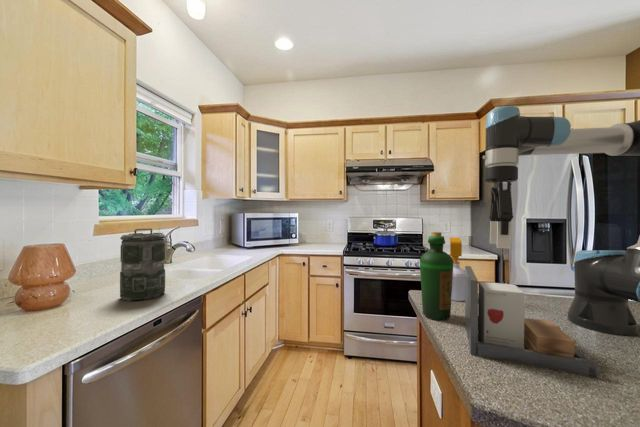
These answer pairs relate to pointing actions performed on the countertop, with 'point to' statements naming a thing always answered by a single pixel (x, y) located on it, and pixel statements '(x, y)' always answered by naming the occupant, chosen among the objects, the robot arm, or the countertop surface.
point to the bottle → (436, 279)
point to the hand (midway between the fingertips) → (499, 246)
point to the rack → (517, 355)
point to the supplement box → (501, 314)
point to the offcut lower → (532, 347)
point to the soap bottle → (457, 271)
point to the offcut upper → (548, 336)
